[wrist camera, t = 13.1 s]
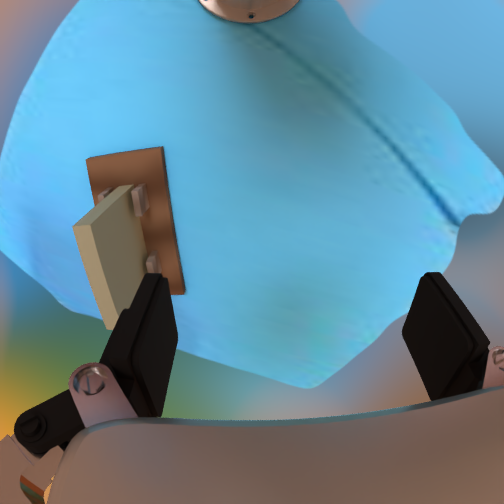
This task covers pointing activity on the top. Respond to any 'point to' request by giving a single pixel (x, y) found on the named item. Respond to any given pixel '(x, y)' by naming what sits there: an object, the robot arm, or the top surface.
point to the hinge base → (143, 204)
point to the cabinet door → (112, 252)
